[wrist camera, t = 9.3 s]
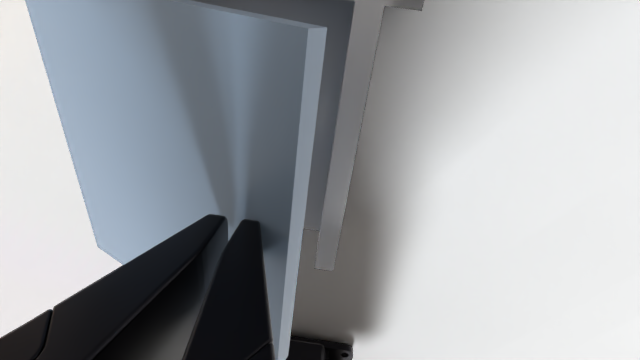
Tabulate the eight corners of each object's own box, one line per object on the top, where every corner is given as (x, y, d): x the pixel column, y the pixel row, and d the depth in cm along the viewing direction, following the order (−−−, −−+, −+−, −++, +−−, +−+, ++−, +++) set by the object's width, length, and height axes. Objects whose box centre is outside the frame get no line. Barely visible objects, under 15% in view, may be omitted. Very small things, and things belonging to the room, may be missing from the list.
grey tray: (355, 229, 17) (356, 274, 14) (127, 196, 17) (86, 235, 14) (505, -443, 7) (593, -688, 5) (-24, -510, 7) (-232, -785, 5)
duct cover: (288, 355, 10) (276, 372, 10) (112, 238, 14) (97, 247, 13) (327, 26, 6) (308, 28, 5) (43, -29, 9) (15, -31, 8)
